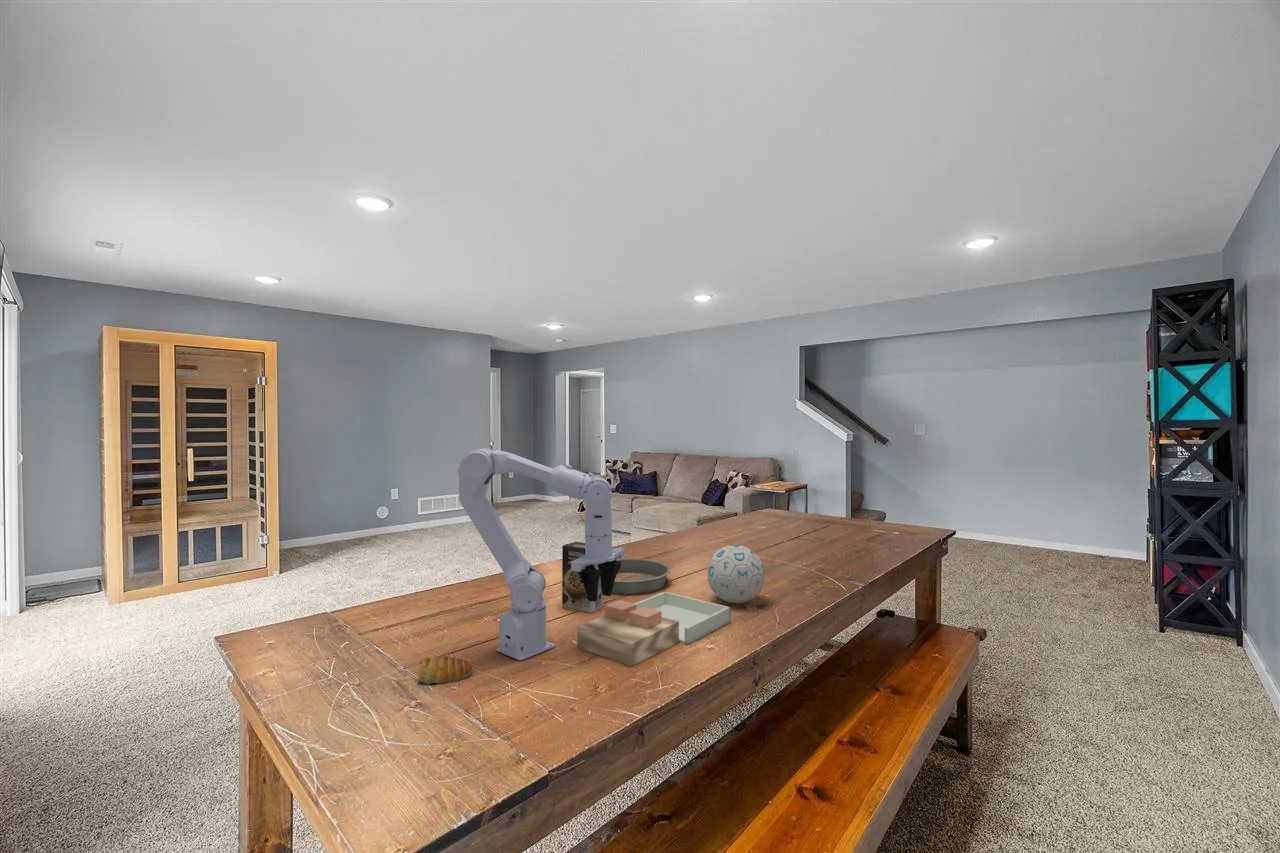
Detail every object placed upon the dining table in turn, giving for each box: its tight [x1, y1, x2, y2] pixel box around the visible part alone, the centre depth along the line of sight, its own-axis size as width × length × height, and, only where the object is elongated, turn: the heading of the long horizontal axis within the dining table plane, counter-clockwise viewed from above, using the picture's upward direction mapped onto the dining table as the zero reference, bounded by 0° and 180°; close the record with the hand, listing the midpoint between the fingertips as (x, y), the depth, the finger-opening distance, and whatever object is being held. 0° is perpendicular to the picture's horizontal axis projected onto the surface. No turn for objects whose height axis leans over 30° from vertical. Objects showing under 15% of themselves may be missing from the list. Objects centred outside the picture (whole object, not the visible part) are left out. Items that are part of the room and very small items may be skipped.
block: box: [577, 615, 680, 668], centre depth 124 cm, size 16×15×4 cm
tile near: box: [629, 606, 662, 629], centre depth 124 cm, size 5×5×2 cm
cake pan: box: [611, 558, 671, 595], centre depth 170 cm, size 25×25×4 cm
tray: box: [633, 591, 732, 646], centre depth 137 cm, size 18×20×4 cm
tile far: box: [604, 599, 637, 622], centre depth 129 cm, size 5×5×2 cm
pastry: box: [418, 655, 473, 685], centre depth 109 cm, size 9×7×4 cm
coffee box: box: [561, 541, 604, 614], centre depth 148 cm, size 9×6×16 cm
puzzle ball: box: [706, 544, 766, 605], centre depth 153 cm, size 15×15×15 cm
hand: (599, 597), depth 123 cm, fingers open, 4 cm apart
